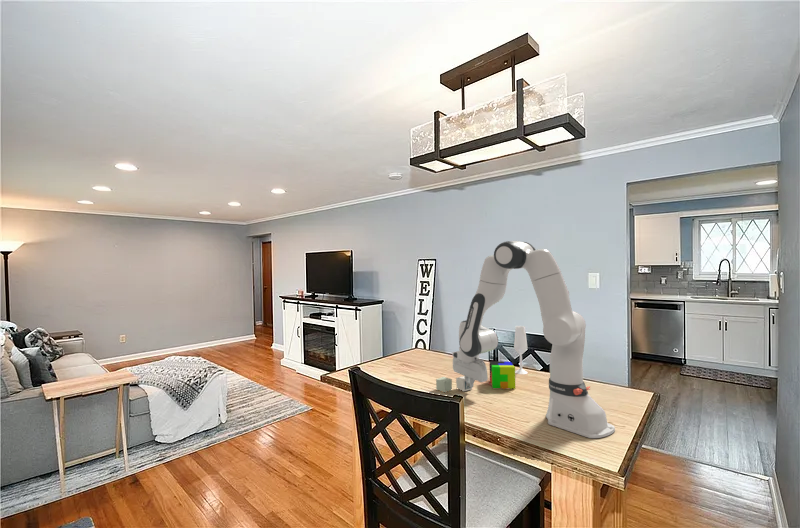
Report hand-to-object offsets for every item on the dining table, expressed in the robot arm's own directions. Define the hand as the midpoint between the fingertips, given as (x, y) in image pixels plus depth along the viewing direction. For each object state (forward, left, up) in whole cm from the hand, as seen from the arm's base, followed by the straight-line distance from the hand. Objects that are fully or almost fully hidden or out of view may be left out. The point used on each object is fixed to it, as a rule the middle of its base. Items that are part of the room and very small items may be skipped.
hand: (469, 386), depth 163 cm
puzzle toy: (0, -19, -3) cm, 19 cm away
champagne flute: (+10, -42, -3) cm, 43 cm away
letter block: (+2, 0, 0) cm, 2 cm away
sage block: (+9, +8, -3) cm, 12 cm away
